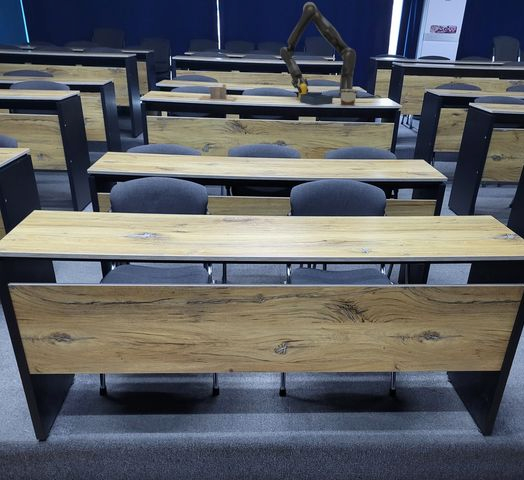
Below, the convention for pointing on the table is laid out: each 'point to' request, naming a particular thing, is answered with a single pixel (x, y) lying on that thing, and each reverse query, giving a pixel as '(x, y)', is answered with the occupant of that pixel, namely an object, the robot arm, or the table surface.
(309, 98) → the crate
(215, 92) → the ruin model on sheet
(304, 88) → the pepper
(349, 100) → the food container
